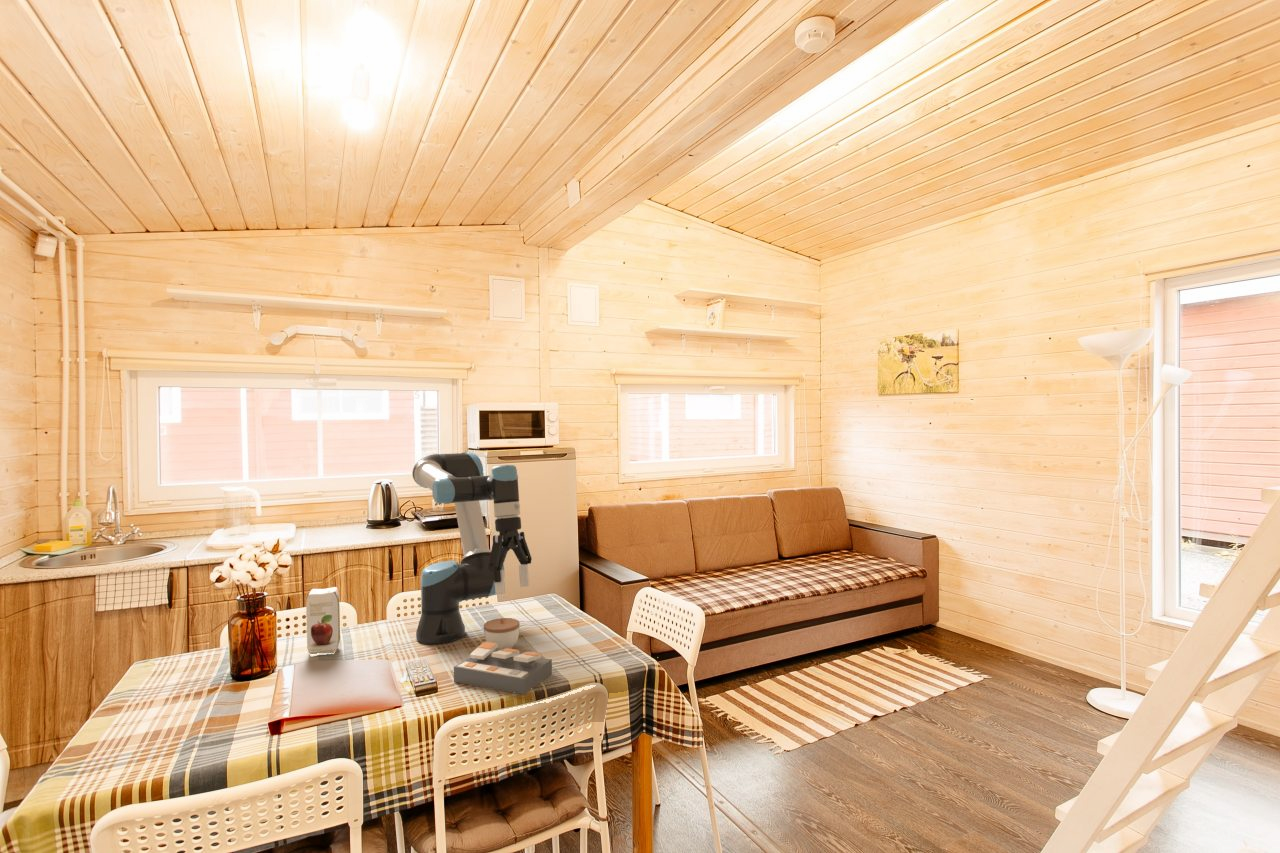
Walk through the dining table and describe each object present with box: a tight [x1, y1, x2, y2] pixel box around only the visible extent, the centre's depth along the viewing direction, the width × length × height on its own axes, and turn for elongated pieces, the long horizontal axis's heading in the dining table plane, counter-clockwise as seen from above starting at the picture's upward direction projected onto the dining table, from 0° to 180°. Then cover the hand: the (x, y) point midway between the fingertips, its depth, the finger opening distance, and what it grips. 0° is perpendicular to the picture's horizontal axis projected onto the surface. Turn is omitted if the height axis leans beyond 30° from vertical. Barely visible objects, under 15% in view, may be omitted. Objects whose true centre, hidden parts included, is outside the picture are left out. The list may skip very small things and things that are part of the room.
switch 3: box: [513, 651, 542, 663], centre depth 169 cm, size 4×7×1 cm, turn 158°
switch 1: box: [469, 640, 498, 660], centre depth 174 cm, size 4×7×1 cm, turn 158°
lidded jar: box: [483, 617, 520, 651], centre depth 193 cm, size 11×11×9 cm
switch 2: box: [491, 648, 520, 659], centre depth 172 cm, size 4×7×1 cm, turn 158°
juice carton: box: [305, 586, 341, 654], centre depth 191 cm, size 8×9×19 cm
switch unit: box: [453, 650, 553, 695], centre depth 171 cm, size 22×14×5 cm, turn 68°
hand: (513, 590), depth 184 cm, fingers open, 13 cm apart
